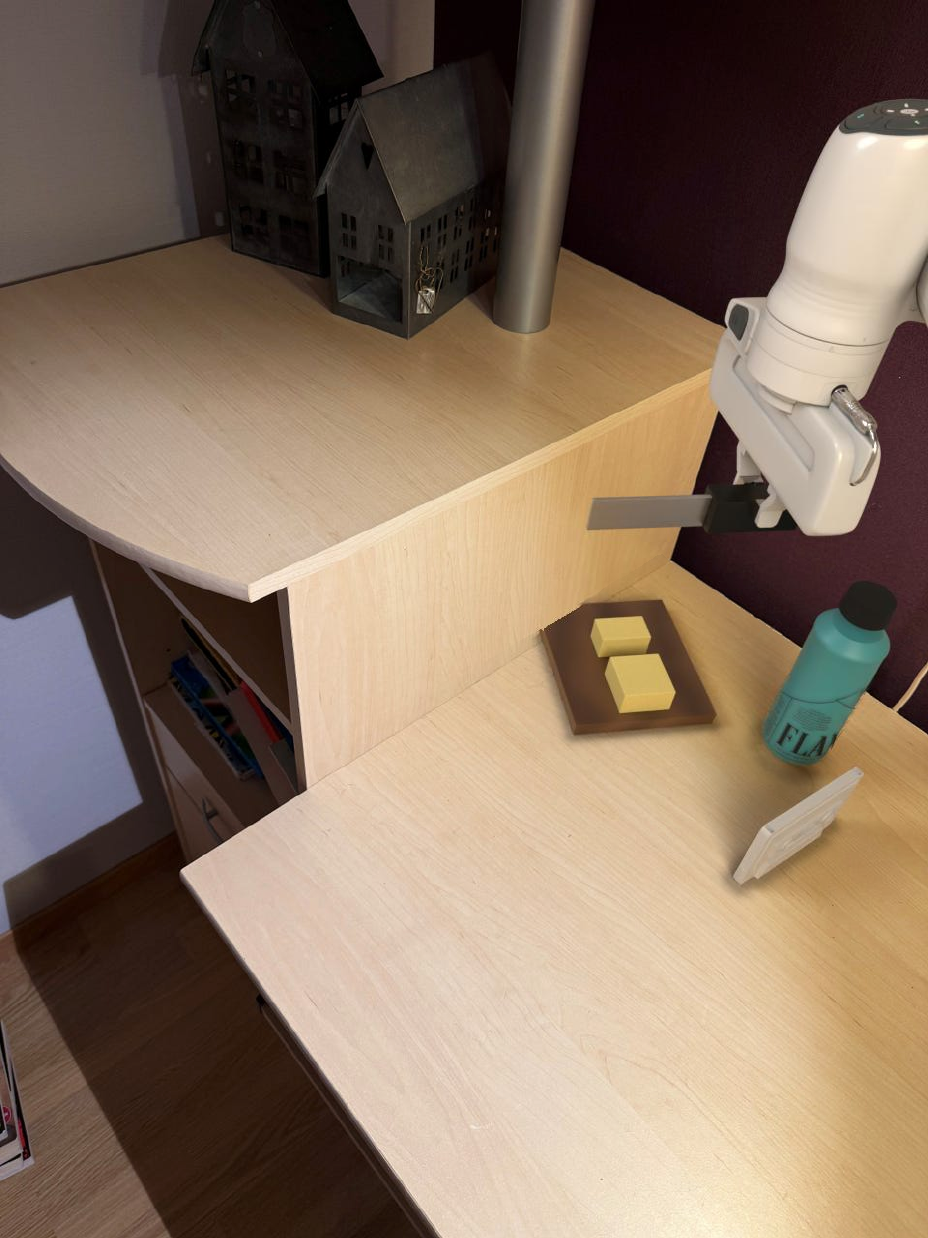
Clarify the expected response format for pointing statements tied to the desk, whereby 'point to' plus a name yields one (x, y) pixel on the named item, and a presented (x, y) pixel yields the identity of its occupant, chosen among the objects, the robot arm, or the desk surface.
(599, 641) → the butter pat
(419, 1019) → the desk surface
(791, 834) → the cassette
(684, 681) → the board
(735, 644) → the desk surface
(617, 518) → the knife
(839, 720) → the beverage bottle
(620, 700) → the butter stick
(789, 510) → the robot arm
